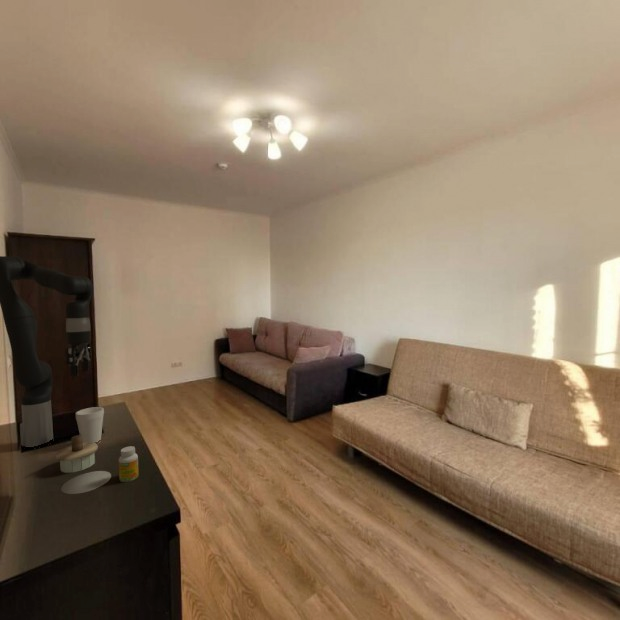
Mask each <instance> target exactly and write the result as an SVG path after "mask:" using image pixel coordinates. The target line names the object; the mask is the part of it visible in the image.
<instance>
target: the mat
mask: <svg viewBox="0 0 620 620" xmlns="http://www.w3.org/2000/svg"><path fill="white" fill-rule="evenodd" d="M111 478H112V474H111V472H109V471H105V470H97V471H96V470H95V471H89V472H86V473H82V474H78V475H77V476H75V477H72V478H70V479H69V480H67V481H66V482H65V483H63V485H62V486H61V488H60V490H61V492H62V493H63V494H67V495H68V494H69V495H76V494H82V493H87V492H90V491H93V490H95V489H97V488H99V487H102V486H103V485H105V484H107V483H108V482H109V481H110V479H111Z"/></svg>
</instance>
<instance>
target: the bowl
mask: <svg viewBox="0 0 620 620" xmlns="http://www.w3.org/2000/svg"><path fill="white" fill-rule="evenodd" d="M95 453H96V452H94V453H93V454H91V455H89V456H86V457H83V458H80V459H76V460H70V461H61V460H59V465H60V467H59V468H60V469H59V470H60V471H61V472H62V473H66V474H67V473H70V474H71V473H76V472H80V471H83V470H86V469H87V468H91V467H92V466H93V465H94V464H95V463H96V458H95V457H96V456H95V455H96V454H95Z"/></svg>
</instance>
